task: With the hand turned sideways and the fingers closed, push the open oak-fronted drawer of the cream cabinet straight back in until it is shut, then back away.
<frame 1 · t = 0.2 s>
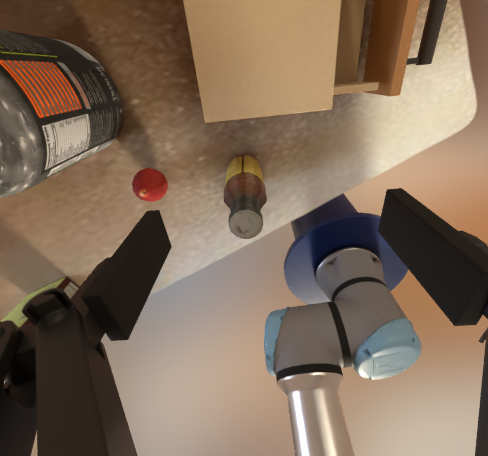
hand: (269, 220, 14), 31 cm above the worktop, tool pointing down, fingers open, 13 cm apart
onion: (157, 177, 46), on the worktop
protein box: (63, 297, 65), on the worktop
sauce bottle: (245, 169, 45), on the worktop
supplement tub: (79, 101, 39), on the worktop
cabinet: (260, 54, 35), on the worktop
drawer: (350, 40, 30), point 5 cm above the worktop, slide at 7.0 cm
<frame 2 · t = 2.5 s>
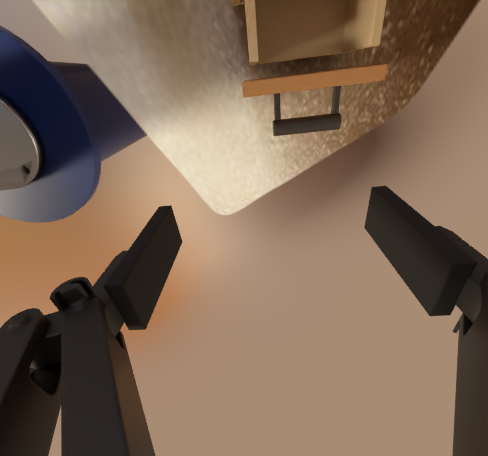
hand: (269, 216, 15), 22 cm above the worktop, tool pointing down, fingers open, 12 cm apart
drawer: (304, 24, 23), point 5 cm above the worktop, slide at 7.0 cm
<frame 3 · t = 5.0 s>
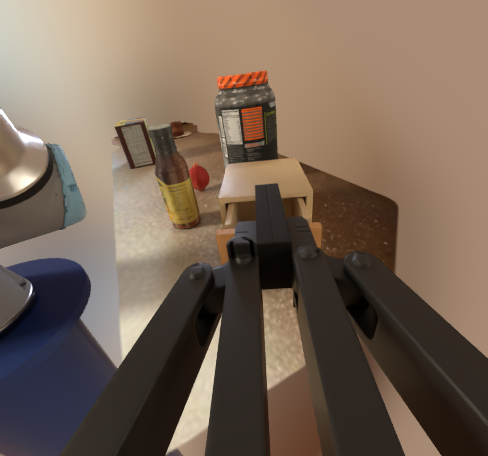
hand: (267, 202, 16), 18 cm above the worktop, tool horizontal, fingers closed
onion: (201, 191, 66), on the worktop
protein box: (144, 161, 99), on the worktop
sauce bottle: (187, 224, 52), on the worktop
supplement tub: (252, 175, 73), on the worktop
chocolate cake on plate: (177, 135, 140), on the worktop
cabinet: (266, 227, 47), on the worktop
drawer: (267, 236, 35), point 5 cm above the worktop, slide at 7.0 cm
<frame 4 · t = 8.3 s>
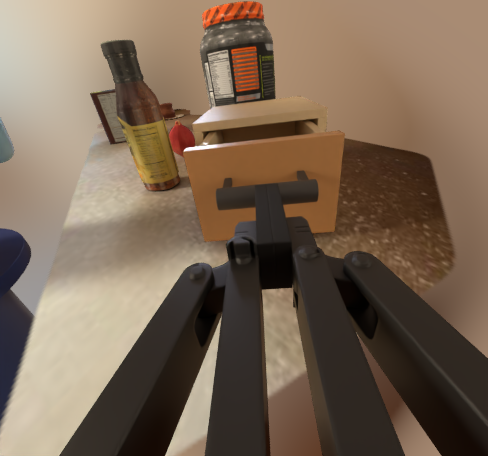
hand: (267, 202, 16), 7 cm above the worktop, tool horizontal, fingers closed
onion: (186, 158, 56), on the worktop
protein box: (127, 138, 89), on the worktop
sauce bottle: (163, 186, 42), on the worktop
supplement tub: (246, 142, 62), on the worktop
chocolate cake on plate: (167, 118, 130), on the worktop
cabinet: (262, 185, 37), on the worktop
drawer: (262, 174, 25), point 5 cm above the worktop, slide at 6.2 cm, touching gripper
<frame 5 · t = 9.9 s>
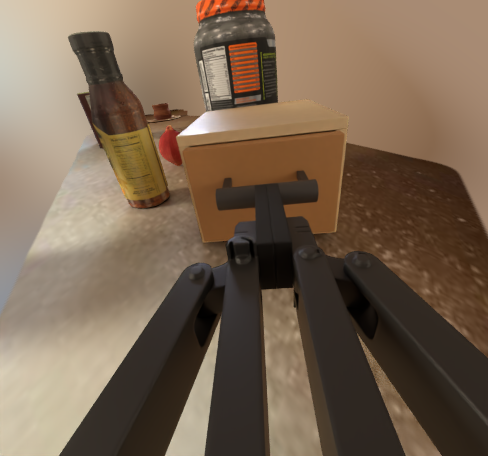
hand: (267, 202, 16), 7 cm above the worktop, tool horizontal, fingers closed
onion: (179, 166, 51), on the worktop
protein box: (119, 142, 84), on the worktop
sauce bottle: (150, 202, 36), on the worktop
supplement tub: (245, 148, 57), on the worktop
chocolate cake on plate: (163, 119, 125), on the worktop
cabinet: (264, 203, 31), on the worktop
drawer: (262, 174, 25), point 5 cm above the worktop, slide at 0.0 cm, touching cabinet, gripper
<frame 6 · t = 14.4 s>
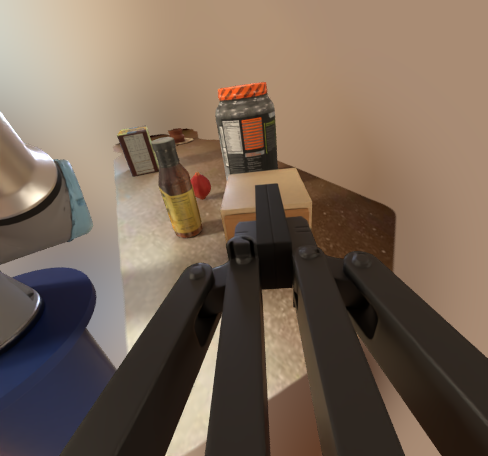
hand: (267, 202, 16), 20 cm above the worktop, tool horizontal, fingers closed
onion: (202, 199, 68), on the worktop
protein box: (146, 169, 101), on the worktop
sauce bottle: (189, 232, 53), on the worktop
supplement tub: (252, 182, 74), on the worktop
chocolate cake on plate: (178, 142, 142), on the worktop
cabinet: (267, 236, 48), on the worktop
drawer: (266, 223, 42), point 5 cm above the worktop, slide at 0.0 cm, touching cabinet
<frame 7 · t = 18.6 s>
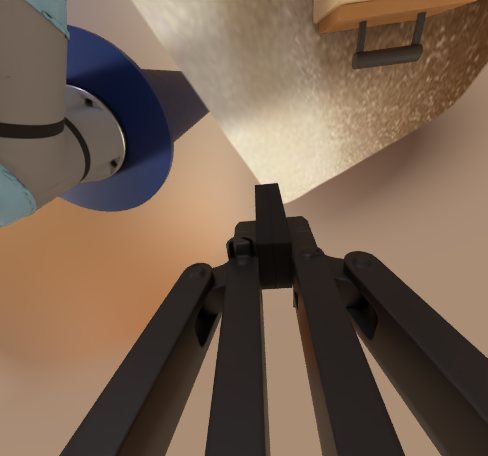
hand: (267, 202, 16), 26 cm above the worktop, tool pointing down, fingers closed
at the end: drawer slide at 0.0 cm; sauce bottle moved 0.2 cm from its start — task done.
